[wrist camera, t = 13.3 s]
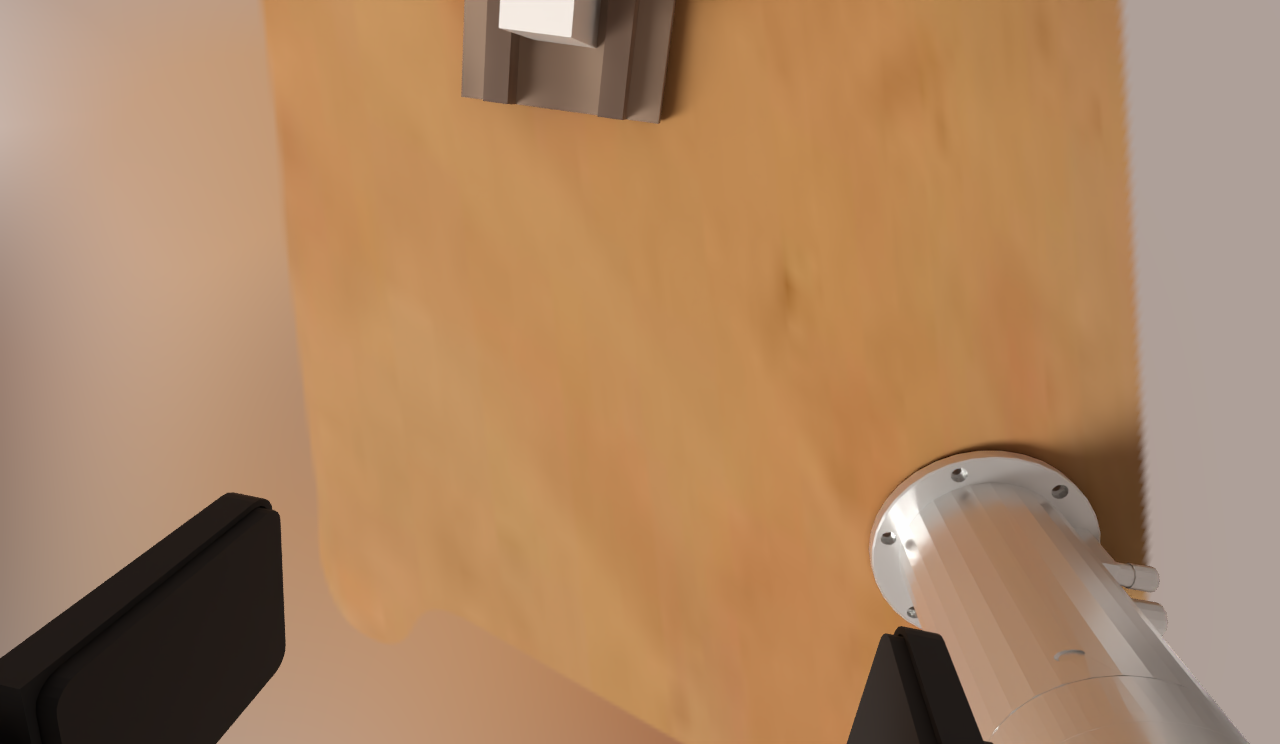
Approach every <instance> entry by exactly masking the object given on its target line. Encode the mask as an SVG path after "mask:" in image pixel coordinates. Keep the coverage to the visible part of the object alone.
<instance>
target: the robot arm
mask: <svg viewBox="0 0 1280 744" xmlns="http://www.w3.org/2000/svg"><path fill="white" fill-rule="evenodd" d="M956 469H958V470H956ZM954 470H956V471H954ZM886 532H887V533H886ZM869 554H870V562H871V567H872V571H873V574H874V577H875V581H876V583H877V585H878V587H879V589H880V591H881V593H882V595H883V597H884V598H885V599H886V601H887V602H888V603H889V604H890V606H891V607H892V608H893V609H894V611H896V612H897V613H898V614H899V615H900V616H901V617H903V618H904V619H905V620H906V621H908V622H909V623H911V624H913V625H915V626H917V627H919V628H920V629H922V630H918V629H913V628H908V627H903V626H900V627H898V628H897V629H896V631H895V633H894V635H891V634H883V636H882V637H881V640H880V642H879V645H878V648H877V651H876V655H875V658H874V661H873V664H872V667H871V670H870V673H869V676H868V679H867V682H866V686H865V689H864V692H863V695H862V698H861V701H860V704H859V707H858V710H857V713H856V717H855V720H854V723H853V726H852V729H851V732H850V735H849V738H848V741H847V744H1250V743H1249V742H1248V741H1247V739H1246V738H1245V737H1244V736H1243V735H1242V733H1241V732H1240V731H1239V730H1238V729H1237V727H1236V726H1235V725H1234V724H1233V722H1232V721H1231V720H1230V719H1229V718H1228V717H1227V715H1226V714H1225V713H1224V712H1223V711H1222V709H1221V708H1220V707H1219V706H1218V704H1217V703H1216V702H1215V701H1214V699H1213V698H1212V697H1211V696H1210V695H1209V693H1208V692H1207V691H1206V690H1205V688H1204V687H1203V686H1202V685H1201V684H1200V682H1199V681H1198V680H1197V679H1196V677H1195V676H1194V675H1193V674H1192V673H1191V672H1190V670H1189V669H1188V668H1187V666H1186V665H1185V664H1184V663H1183V662H1182V660H1181V659H1180V658H1179V657H1178V655H1177V654H1176V653H1175V652H1174V651H1173V649H1172V648H1171V647H1170V646H1169V645H1168V643H1167V642H1166V641H1165V640H1164V638H1163V637H1162V636H1163V635H1164V633H1165V632H1166V630H1167V624H1168V620H1167V614H1166V612H1165V610H1164V608H1163V606H1161V605H1160V604H1159V603H1156V602H1151V601H1145V600H1139V599H1133V598H1130V597H1129V596H1128V594H1127V593H1126V592H1125V591H1124V589H1123V588H1122V587H1121V586H1123V587H1126V588H1128V589H1134V590H1140V591H1145V592H1154V591H1155V590H1156V589H1157V588H1158V585H1159V574H1158V572H1157V571H1156V569H1155V568H1153V567H1150V566H1144V565H1138V564H1133V563H1126V564H1125V563H1119V562H1115V561H1114V559H1113V558H1112V557H1111V556H1110V555H1109V554H1108V553H1107V551H1106V550H1105V549H1104V548H1103V547H1102V546H1101V544H1100V529H1099V525H1098V521H1097V517H1096V514H1095V512H1094V510H1093V509H1092V507H1091V505H1090V503H1089V501H1088V499H1087V498H1086V497H1085V496H1084V494H1083V493H1082V492H1081V491H1080V490H1079V489H1078V487H1077V486H1076V485H1075V484H1074V483H1073V482H1072V481H1071V480H1070V479H1068V478H1067V477H1066V476H1065V475H1064V474H1063V473H1062V472H1061V471H1059V470H1057V469H1056V468H1054V467H1052V466H1050V465H1049V464H1047V463H1045V462H1044V461H1041V460H1038V459H1035V458H1033V457H1030V456H1027V455H1024V454H1019V453H1013V452H1007V451H974V452H968V453H962V454H956V455H953V456H950V457H947V458H944V459H942V460H939V461H936V462H934V463H932V464H930V465H928V466H926V467H924V468H922V469H920V470H919V471H917V472H915V473H914V474H913V475H911V476H910V477H909V478H907V479H906V480H905V481H903V482H902V483H901V484H900V485H899V486H898V487H897V488H896V489H895V490H894V491H893V492H892V493H891V495H890V496H889V497H888V498H887V499H886V501H885V502H884V504H883V506H882V507H881V509H880V511H879V512H878V514H877V516H876V519H875V521H874V524H873V527H872V530H871V535H870V544H869ZM284 653H285V622H284V597H283V572H282V550H281V525H280V515H279V514H278V512H276V511H274V510H272V506H271V504H270V502H269V501H268V500H266V499H263V498H258V497H253V496H248V495H243V494H238V493H227V494H225V495H223V496H221V497H220V498H219V499H217V500H216V501H214V502H213V503H212V504H210V505H209V506H208V507H206V508H205V509H203V510H202V511H201V512H199V513H198V514H197V515H195V516H194V517H193V518H191V519H190V520H189V521H187V522H186V523H184V524H183V525H182V526H180V527H179V528H178V529H176V530H175V531H173V532H172V533H171V534H169V535H168V536H167V537H165V538H164V539H163V540H161V541H160V542H158V543H157V544H156V545H154V546H153V547H152V548H150V549H149V550H148V551H146V552H145V553H143V554H142V555H141V556H139V557H138V558H137V559H135V560H134V561H133V562H131V563H130V564H128V565H127V566H126V567H124V568H123V569H122V570H120V571H119V572H118V573H116V574H115V575H114V576H112V577H111V578H109V579H108V580H107V581H105V582H104V583H103V584H101V585H100V586H98V587H97V588H96V589H94V590H93V591H92V592H90V593H89V594H87V595H86V596H85V597H83V598H82V599H81V600H79V601H78V602H77V603H75V604H74V605H72V606H71V607H70V608H69V609H67V610H66V611H64V612H63V613H62V614H60V615H59V616H57V617H56V618H55V619H53V620H52V621H51V622H49V623H48V624H47V625H45V626H44V627H42V628H41V629H40V630H39V631H37V632H36V633H34V634H33V635H31V636H30V637H29V638H27V639H26V640H25V641H23V642H22V643H21V644H19V645H18V646H17V647H15V648H14V649H12V650H11V651H10V652H8V653H7V654H6V655H4V656H3V657H2V658H0V744H216V743H217V742H218V741H219V740H220V739H221V737H222V736H223V735H224V734H225V733H226V731H227V730H228V729H229V727H230V726H231V725H232V724H233V723H234V722H235V721H236V719H237V718H238V717H239V716H240V715H241V713H242V712H243V711H244V710H245V708H246V707H247V706H248V705H249V704H250V703H251V701H252V700H253V699H254V698H255V697H256V695H257V694H258V693H259V692H260V691H261V689H262V688H263V687H264V686H265V685H266V683H267V682H268V681H269V680H270V679H271V677H272V676H273V675H274V674H275V672H276V671H277V670H278V668H279V666H280V664H281V662H282V660H283V657H284Z"/></svg>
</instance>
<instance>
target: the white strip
mask: <svg viewBox="0 0 1280 744" xmlns="http://www.w3.org/2000/svg"><path fill="white" fill-rule="evenodd" d="M600 6H601V0H500V13H499V28H500V29H503V30H506V31H509V32H512V33H515V34H518V35H521V36H524V37H527V38H530V39H533V40H537V41H545V42H552V43H560V44H567V45H575V46H582V47H590V48H597V37H598V27H599V16H600Z"/></svg>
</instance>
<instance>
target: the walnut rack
mask: <svg viewBox="0 0 1280 744" xmlns="http://www.w3.org/2000/svg"><path fill="white" fill-rule="evenodd" d="M675 3H676V0H601V6H600V16H599V27H598V37H597V48H590V47H582V46H575V45H567V44H560V43H552V42H545V41H537V40H533V39H530V38H527V37H524V36H521V35H518V34H515V33H512V32H509V31H506V30H503V29H500V28H499V13H500V0H465V6H464V36H463V66H462V96H461V97H468V98H476V99H483V101H489V102H496V103H503V104H519V105H526V106H534V107H541V108H548V109H556V110H563V111H570V112H577V113H585V114H592V115H597V116H598V117H605V118H612V119H620V120H625V119H628V120H635V121H643V122H650V123H657V124H659V123H660V119H661V112H662V104H663V96H664V88H665V81H666V73H667V65H668V57H669V49H670V42H671V34H672V26H673V18H674V11H675Z"/></svg>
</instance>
